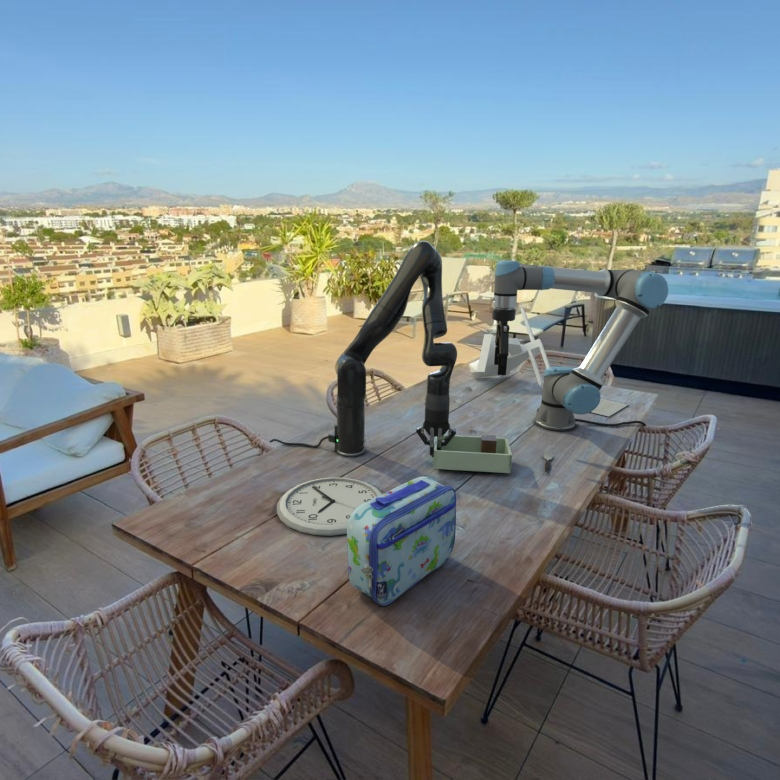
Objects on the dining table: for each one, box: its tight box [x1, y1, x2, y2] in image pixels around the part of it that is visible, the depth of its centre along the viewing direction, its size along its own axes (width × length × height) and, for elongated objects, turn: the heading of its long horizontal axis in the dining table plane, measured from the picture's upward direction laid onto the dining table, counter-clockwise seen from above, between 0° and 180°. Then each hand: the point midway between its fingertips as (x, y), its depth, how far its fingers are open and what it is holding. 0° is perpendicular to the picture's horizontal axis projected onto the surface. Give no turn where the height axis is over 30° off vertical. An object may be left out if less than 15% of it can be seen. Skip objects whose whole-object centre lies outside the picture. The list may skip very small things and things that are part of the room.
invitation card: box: [590, 398, 629, 418], centre depth 226 cm, size 21×1×15 cm
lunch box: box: [346, 475, 457, 607], centre depth 111 cm, size 26×11×21 cm, turn 134°
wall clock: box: [276, 476, 384, 537], centre depth 142 cm, size 30×2×30 cm
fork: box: [543, 448, 554, 473], centre depth 170 cm, size 3×16×2 cm, turn 160°
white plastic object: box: [468, 307, 551, 390], centre depth 257 cm, size 37×45×31 cm
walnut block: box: [480, 434, 497, 453], centre depth 165 cm, size 4×4×8 cm
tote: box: [432, 434, 513, 474], centre depth 166 cm, size 24×14×6 cm, turn 84°
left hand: (435, 456), depth 168 cm, fingers closed on tote, 1 cm apart
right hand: (499, 369), depth 181 cm, fingers open, 13 cm apart
